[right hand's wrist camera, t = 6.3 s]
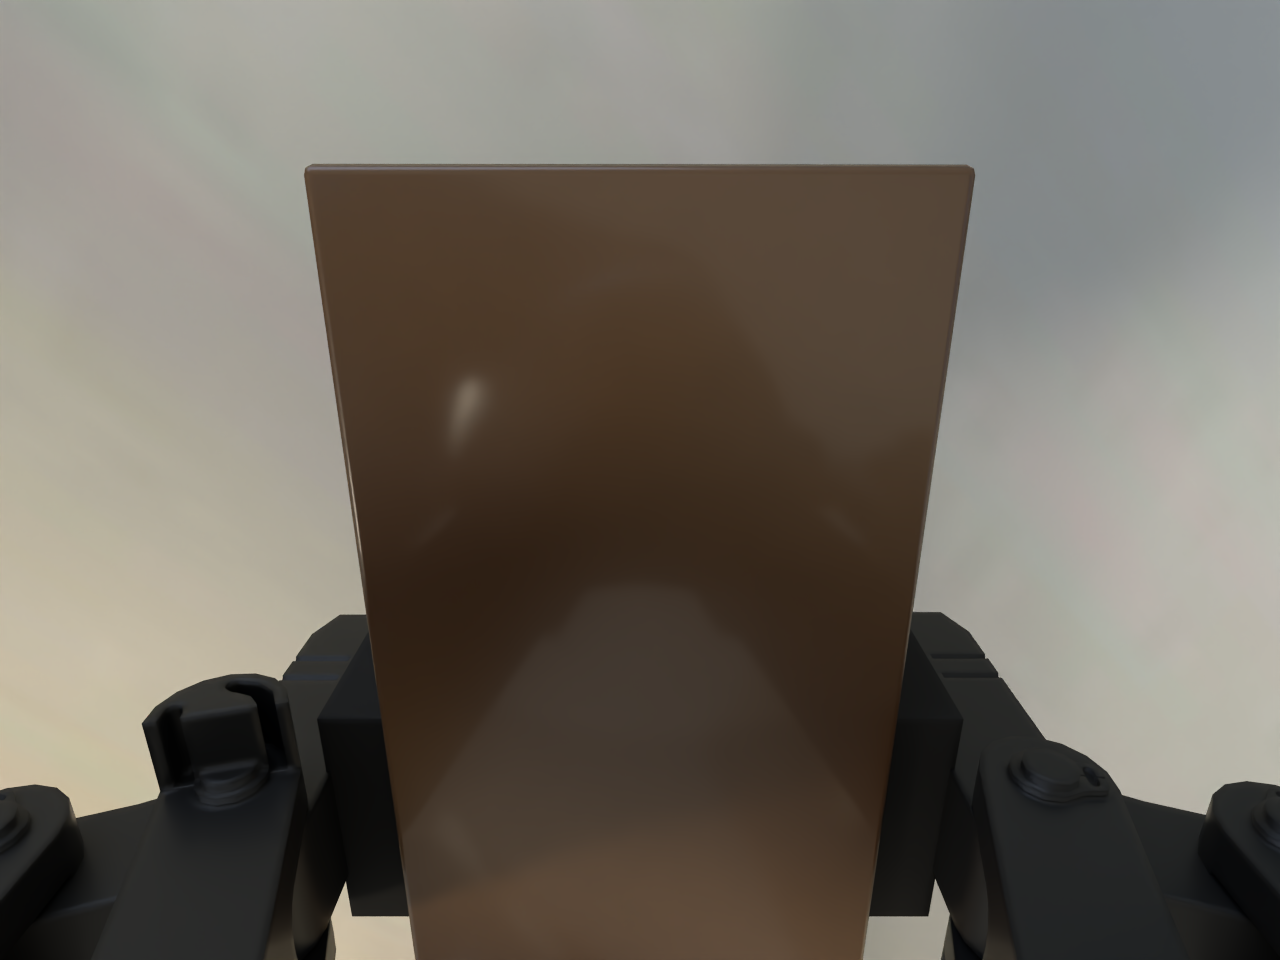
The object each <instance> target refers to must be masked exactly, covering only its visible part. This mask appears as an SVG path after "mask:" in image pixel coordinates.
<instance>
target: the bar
mask: <svg viewBox="0 0 1280 960" xmlns="http://www.w3.org/2000/svg"><path fill="white" fill-rule="evenodd" d="M304 178H305V185H306V192H307V199H308V206H309V213H310V220H311V227H312V234H313V241H314V248H315V255H316V262H317V269H318V277H319V284H320V291H321V298H322V305H323V312H324V319H325V326H326V333H327V340H328V347H329V354H330V361H331V368H332V375H333V382H334V389H335V396H336V403H337V410H338V417H339V425H340V432H341V439H342V446H343V453H344V460H345V467H346V474H347V481H348V488H349V495H350V502H351V509H352V516H353V523H354V530H355V537H356V544H357V551H358V558H359V565H360V573H361V580H362V587H363V594H364V601H365V608H366V615H367V622H368V629H369V636H370V643H371V650H372V657H373V664H374V671H375V678H376V685H377V692H378V699H379V706H380V713H381V721H382V728H383V735H384V742H385V749H386V756H387V763H388V770H389V777H390V784H391V791H392V798H393V805H394V812H395V819H396V826H397V833H398V840H399V847H400V854H401V861H402V869H403V876H404V883H405V890H406V897H407V904H408V911H409V918H410V925H411V932H412V939H413V946H414V953H415V960H863V954H864V947H865V940H866V933H867V926H868V919H869V912H870V905H871V898H872V891H873V884H874V877H875V870H876V863H877V856H878V849H879V842H880V835H881V828H882V821H883V814H884V807H885V800H886V794H887V787H888V780H889V773H890V766H891V759H892V752H893V745H894V738H895V731H896V724H897V717H898V710H899V703H900V696H901V689H902V682H903V675H904V668H905V661H906V654H907V647H908V640H909V633H910V626H911V619H912V612H913V605H914V598H915V591H916V584H917V577H918V570H919V564H920V557H921V550H922V543H923V536H924V529H925V522H926V515H927V508H928V501H929V494H930V487H931V480H932V473H933V466H934V459H935V452H936V445H937V438H938V431H939V424H940V417H941V410H942V403H943V396H944V389H945V382H946V375H947V368H948V361H949V354H950V347H951V340H952V333H953V327H954V320H955V313H956V306H957V299H958V292H959V285H960V278H961V271H962V264H963V257H964V250H965V243H966V236H967V229H968V222H969V215H970V208H971V201H972V194H973V187H974V180H975V172H974V168H972V167H970V166H968V165H808V164H312V165H309V166H307V167H306V168H305V173H304Z"/></svg>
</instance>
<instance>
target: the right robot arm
mask: <svg viewBox="0 0 1280 960" xmlns="http://www.w3.org/2000/svg"><path fill="white" fill-rule="evenodd" d="M142 726H143V730H144V734H145V737H146V741H147V744H148V748H149V752H150V755H151V759H152V762H153V766H154V770H155V773H156V777H157V780H158V784H159V788H160V793H159V796H158V798H157V799H155V800H151V801H148V802H145V803H141V804H138V805H133V806H129V807H124V808H120V809H115V810H111V811H106V812H102V813H97V814H93V815H88V816H84V817H79V818H76V817H75V814H74V811H73V808H72V805H71V802H70V799H69V798H68V797H67V796H66V795H65V794H64V793H63V792H61V791H60V790H59V789H58V788H55V787H48V786H42V785H28V786H21V787H13V788H6V789H3V790H0V960H335V954H336V946H335V939H334V932H333V926H332V921H331V916H332V913H333V911H334V908H335V906H336V903H337V901H338V899H339V896H340V894H341V891H342V889H343V887H344V884H345V882H346V884H347V890H348V895H349V901H350V907H351V912H352V916H409V911H408V904H407V897H406V890H405V883H404V876H403V869H402V861H401V854H400V847H399V840H398V833H397V826H396V819H395V812H394V805H393V798H392V791H391V784H390V777H389V770H388V763H387V756H386V749H385V742H384V735H383V728H382V721H381V713H380V706H379V699H378V692H377V685H376V678H375V671H374V664H373V657H372V650H371V643H370V636H369V629H368V622H367V615H339V616H338V617H336V618H335V619H333V620H332V621H330V622H329V623H328V624H326V625H325V626H323V627H322V628H320V629H319V630H317V631H316V632H315V633H313V634H312V635H311V636H310V638H309V639H308V641H307V642H306V644H305V645H304V646H303V648H302V649H301V651H300V652H299V653H298V655H297V656H296V661H293V662H292V663H291V665H290V666H289V668H288V669H287V670H286V672H285V673H284V675H283V680H279V681H278V680H276V679H275V678H272V677H267V676H263V675H259V674H230V675H226V676H222V677H218V678H213V679H209V680H205V681H202V682H199V683H197V684H195V685H192V686H190V687H188V688H185V689H183V690H181V691H178V692H176V693H175V694H173V695H172V696H171V697H169V698H168V699H166V700H165V701H163V702H162V703H160V704H159V705H157V706H156V707H155V708H154V709H153V710H152V712H151V713H150V714H149V715H148V717H147V718H146V719H145V720H144V722H143V723H142ZM935 879H936V881H937V884H938V886H939V889H940V891H941V893H942V896H943V898H944V901H945V903H946V905H947V908H948V910H949V913H950V916H949V921H948V926H947V932H946V937H945V942H944V947H943V952H942V958H941V960H1280V786H1277V785H1271V784H1264V783H1256V782H1249V781H1245V782H1238V783H1231V784H1225V785H1224V786H1222V787H1221V788H1220V789H1219V790H1218V791H1216V792H1215V793H1214V794H1213V795H1212V798H1211V801H1210V804H1209V807H1208V810H1207V813H1206V815H1203V814H1199V813H1194V812H1190V811H1185V810H1181V809H1176V808H1172V807H1167V806H1163V805H1158V804H1154V803H1149V802H1145V801H1141V800H1137V799H1134V798H1130V797H1127V796H1124V795H1122V794H1121V792H1120V790H1119V788H1118V787H1117V786H1116V784H1115V783H1114V781H1113V780H1112V778H1111V777H1110V775H1109V774H1108V773H1107V772H1106V771H1105V770H1104V769H1103V768H1101V767H1100V766H1099V765H1097V764H1096V763H1095V762H1094V761H1092V760H1091V759H1090V758H1089V757H1087V756H1086V755H1084V754H1082V753H1079V752H1077V751H1075V750H1073V749H1071V748H1069V747H1067V746H1065V745H1063V744H1060V743H1057V742H1053V741H1049V740H1046V739H1045V738H1044V736H1043V735H1042V734H1041V732H1040V731H1039V729H1038V728H1037V727H1036V725H1035V724H1034V722H1033V721H1032V720H1031V718H1030V717H1029V715H1028V714H1027V713H1026V711H1025V710H1024V708H1023V707H1022V706H1021V704H1020V703H1019V701H1018V700H1017V699H1016V697H1015V696H1014V694H1013V693H1012V692H1011V690H1010V689H1009V687H1008V686H1007V685H1006V683H1005V682H1004V680H1003V679H1002V678H999V677H998V672H997V671H996V669H995V668H994V666H993V665H992V664H991V662H990V661H989V659H985V654H984V652H983V651H982V649H981V648H980V647H979V645H978V644H977V642H976V641H975V640H974V638H973V637H972V635H971V634H970V633H969V631H967V630H966V629H964V628H963V627H961V626H960V625H958V624H957V623H956V622H954V621H953V620H951V619H950V618H948V617H947V616H945V615H944V614H942V613H941V612H912V619H911V626H910V633H909V640H908V647H907V654H906V661H905V668H904V675H903V682H902V689H901V696H900V703H899V710H898V717H897V724H896V731H895V738H894V745H893V752H892V759H891V766H890V773H889V780H888V787H887V794H886V800H885V807H884V814H883V821H882V828H881V835H880V842H879V849H878V856H877V863H876V870H875V877H874V884H873V891H872V898H871V905H870V912H869V916H928V915H929V909H930V904H931V898H932V893H933V887H934V882H935Z"/></svg>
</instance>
